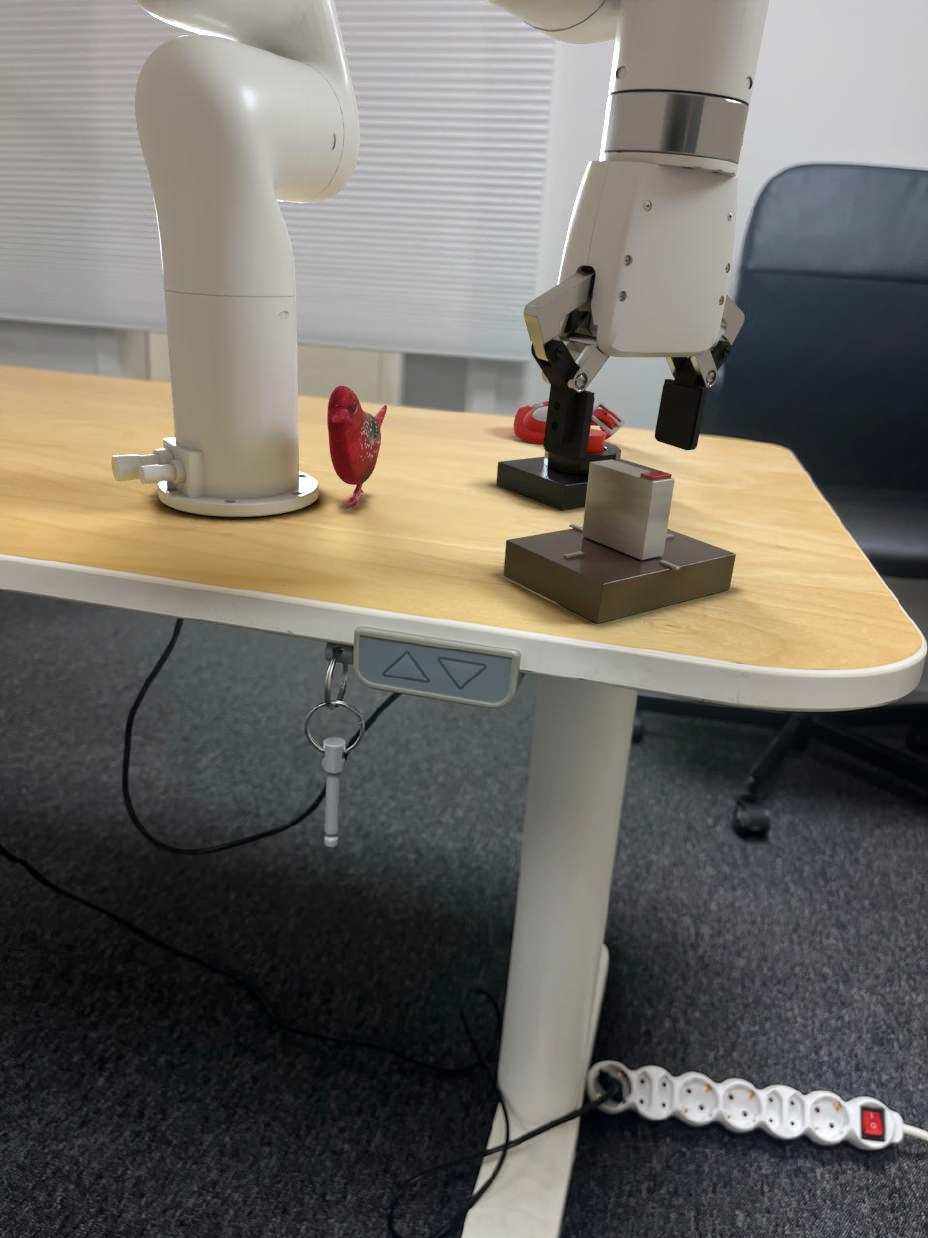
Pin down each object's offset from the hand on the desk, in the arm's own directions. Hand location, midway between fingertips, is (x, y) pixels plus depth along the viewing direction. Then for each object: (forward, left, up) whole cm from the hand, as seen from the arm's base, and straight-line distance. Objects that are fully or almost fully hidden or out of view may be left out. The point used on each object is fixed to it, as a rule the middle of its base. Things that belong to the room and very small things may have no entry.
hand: (621, 450), depth 55 cm
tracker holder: (+28, +36, -9) cm, 47 cm away
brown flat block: (0, -1, -9) cm, 9 cm away
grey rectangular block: (0, -1, -6) cm, 6 cm away
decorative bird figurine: (-5, +24, -9) cm, 26 cm away
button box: (+14, +18, -9) cm, 25 cm away
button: (+14, +18, -5) cm, 24 cm away
